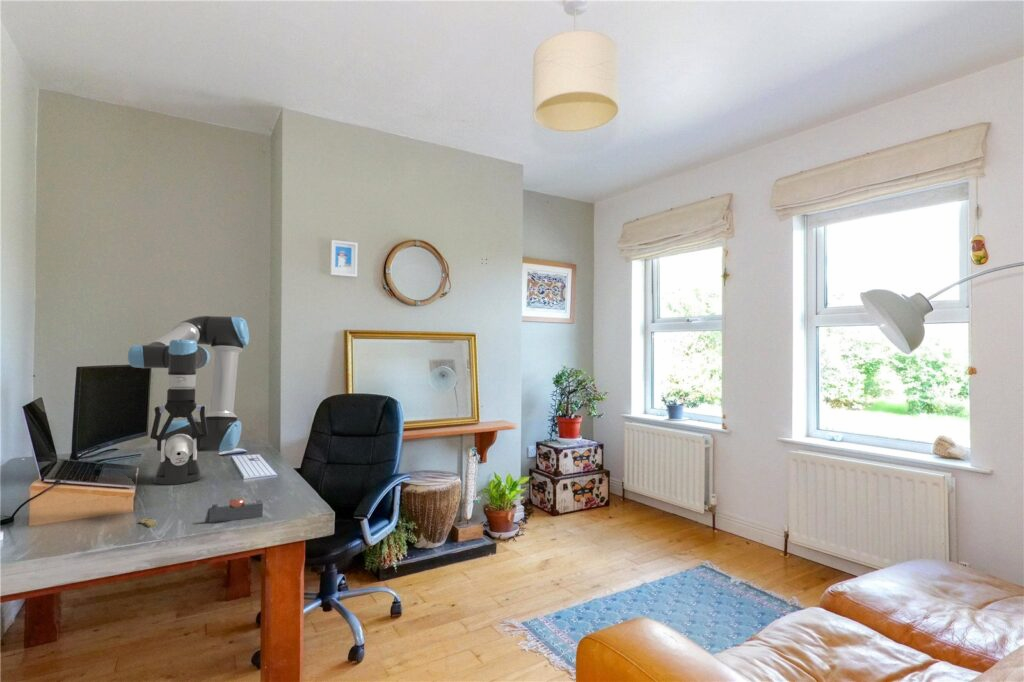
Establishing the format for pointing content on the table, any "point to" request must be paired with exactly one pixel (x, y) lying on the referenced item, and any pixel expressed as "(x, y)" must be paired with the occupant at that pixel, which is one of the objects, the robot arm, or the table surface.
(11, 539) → the table surface
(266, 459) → the table surface
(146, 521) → the brass key
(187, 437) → the spotlight
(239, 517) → the channel
